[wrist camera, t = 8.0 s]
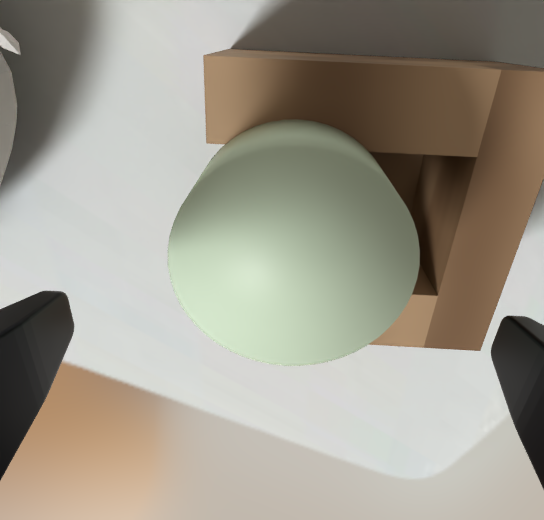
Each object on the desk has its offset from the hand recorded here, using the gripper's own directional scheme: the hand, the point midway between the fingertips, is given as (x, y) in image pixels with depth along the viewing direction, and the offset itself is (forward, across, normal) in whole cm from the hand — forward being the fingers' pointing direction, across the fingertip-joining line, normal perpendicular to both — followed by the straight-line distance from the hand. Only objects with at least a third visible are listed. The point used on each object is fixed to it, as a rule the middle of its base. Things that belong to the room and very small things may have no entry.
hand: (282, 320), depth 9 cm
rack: (+10, -2, 0) cm, 10 cm away
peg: (+8, 0, 0) cm, 8 cm away
